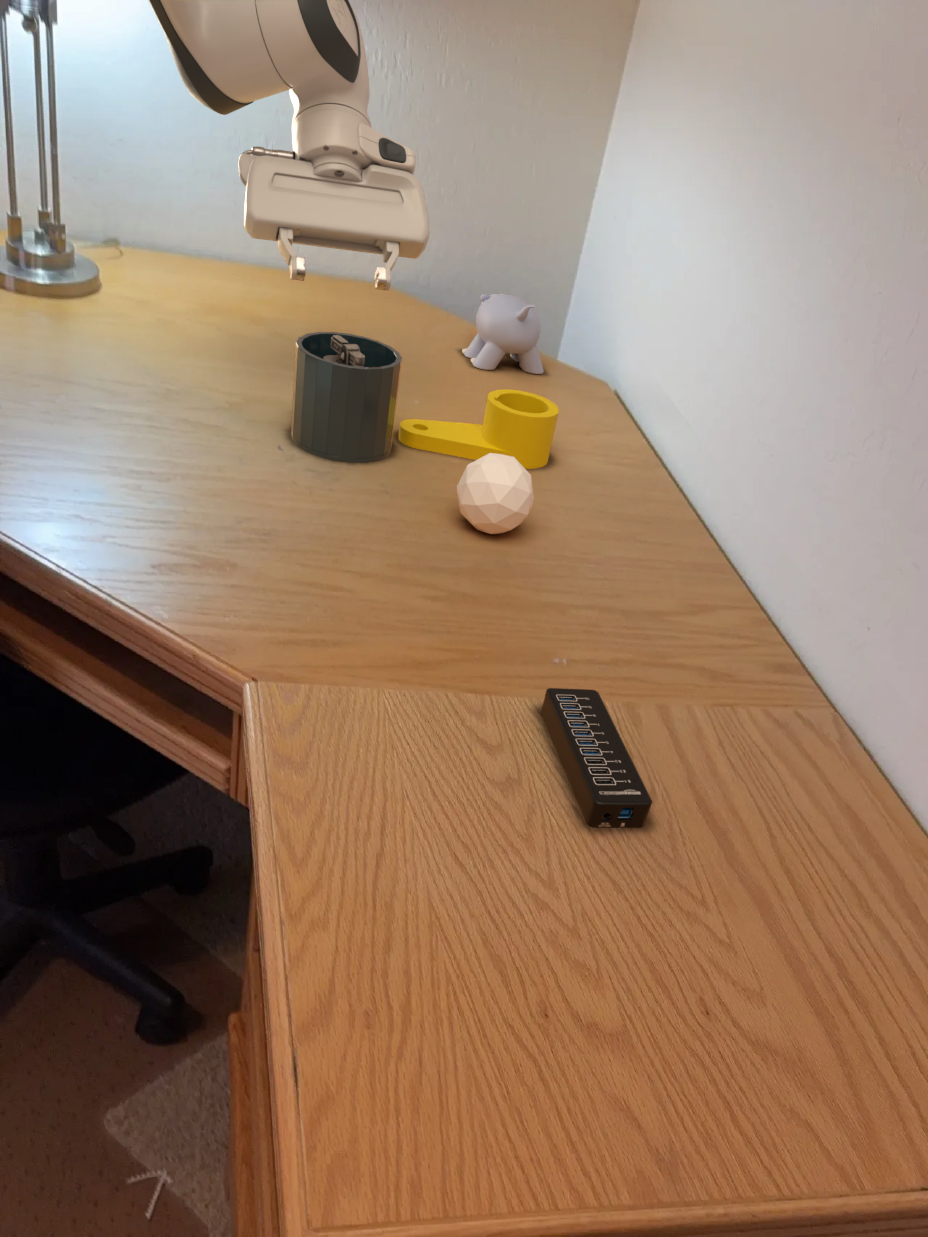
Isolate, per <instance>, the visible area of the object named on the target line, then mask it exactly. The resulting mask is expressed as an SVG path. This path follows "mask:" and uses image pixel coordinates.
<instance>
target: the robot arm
mask: <svg viewBox="0 0 928 1237" xmlns="http://www.w3.org/2000/svg"><path fill="white" fill-rule="evenodd" d="M147 1H148V3H149V6H150V8H151V9H152V11H153V14H154V16H155V18H156V20H157V21H158V24H159V26H160V28H161V30H162V32H163V34H164V37H165V39H166V42H167V44H168V48H169V50H170V53H171V55H172V58H173V62H174V64H175V66H176V68H177V72H178V74H179V77H180V78H181V81H182V83H183V85H184V87H185V89H186V90H187V92H188V93H189V94H190V95H191V97H193V98H194V99H195V100H196V101H198V103H200V104H201V105H203V106H204V107H205V108H208V109H210V110H211V111H213V112H215V113H217V114H219V115H223V116H226V115H229V114H231V113H233V112H236V111H238V110H240V109H242V108H244V107H246V106H249V105H252V104H253V103H254V102H256V101H258V100H259V101H260V100H261V99H266V98H269V97H271V96H275V95H277V94H280V93H284V92H287V91H289V98H290V101H291V104H292V107H293V116H292V120H291V142H292V144H291V145H292V151H291V150H284V149H271V148H265V147H263V146H252V147H251V149H247V150H245V151H243V152H242V153H241V154H240V156H239V158H238V161H237V162H238V176H239V178H240V182H242V184H243V185H244V187H245V195H244V206H243V228H244V230H245V231H246V233H247V234H248V235H249V236H250V237H251V238H252V239H256V240H261V241H262V240H263V241H271V242H277V250H278V252H279V253H280V255H281V256H282V258H283V259H284V261H285V262H286V264H287V266H289V267H288V268H289V279H290V280H292V281H301V282H305V278H306V273H307V272H306V269H307V268H306V258H305V257H302V256H298V254H297V253H296V251H295V249H294V247H293V245H294V244H295V245H303V246H312V247H320V248H325V249H326V248H327V249H335V250H341V251H342V250H344V251H352V252H359V253H367V254H374V255H382V262H383V263H385V265H384V266H377V267H376V270H375V272H374V275H373V278H374V283H375V284H374V289H375V290H378V291H386V292H388V291H390V288H391V285H392V274H391V273H392V270H393V269H394V267H395V265H396V262H397V260H398V258H405V259H418V258H419V257H420V256H421V255H422V254H423V252H424V251H425V249H426V248H427V245H428V242H429V238H430V222H429V212H428V207H427V202H426V196H425V191H424V189H423V185H422V183H421V182H420V180H419V179H418V177H417V176H415V170H416V163H417V161H416V160H417V157H416V153H415V151H414V150H413V149H412V148H410V147H408V146H406V145H404V144H402V143H400V142H398V141H396V140H394V139H393V138H390V137H388V136H386V135H385V134H383V133H381V132H380V131H378V130H376V129H375V128H373V127H372V123H371V120H370V117H369V114H368V108H369V104H370V97H371V96H370V95H371V94H370V92H371V91H370V79H369V78H370V77H369V68H368V60H367V54H366V48H365V43H364V38H363V34H362V30H361V26H360V21H359V19H358V16H357V14H356V12H355V10H354V8H353V6H352V5H351V3H350V1H349V0H147Z"/></svg>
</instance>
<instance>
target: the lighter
mask: <svg viewBox="0 0 928 1237" xmlns="http://www.w3.org/2000/svg"><path fill="white" fill-rule="evenodd" d="M331 348H332V349H333V350H335V351H336V352H337V353H338V354H337V355H327V356H324V357H323V359H325V360H328V361H331V362H334V363H339V364H344V365H349V366H358V367H363V366H364V360H365V356H364V355H363V354H362V353H360V348H359V346H358V345H357V344H348V341H346V340H345V339H344V338H342V337H341V336H339V335H333V337H331Z"/></svg>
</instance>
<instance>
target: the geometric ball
mask: <svg viewBox="0 0 928 1237" xmlns="http://www.w3.org/2000/svg"><path fill="white" fill-rule="evenodd" d="M455 489H456V494H457V501H458V508H459V514H461V515H462V517H464V518H465V519H466V520H467V521H468V522H469V524H471V526H473V527H474V529H476V531H479V532H482V533H485V534H489V535H500V534H504V533H507V532H509V531H512V530H514V529H515V528H516V527H518V526H519V525H521V524H522V523H523V522H524V521H525V520H526V518H527V517H528V516H529V513H530V512H531V508H532V506H533V504H534V502H535V498H534V497H535V496H534V489H533V481H532V474H530V472H529V471H528V469H525V468H524V467H523V466H522V465H521V464H520V463H519V462H518V461H517V460H516V458H515V457H512V456H507V455H503V454H496V453H489V454H487V455H485V456H483V457H481V458H479V459H477V460H473V461H472V462H470V463H468V464H467V465H466V467H465V469H464V471H463V473H462V475H461V477H460V479H459V481H458V483H457V485H456V488H455Z"/></svg>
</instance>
